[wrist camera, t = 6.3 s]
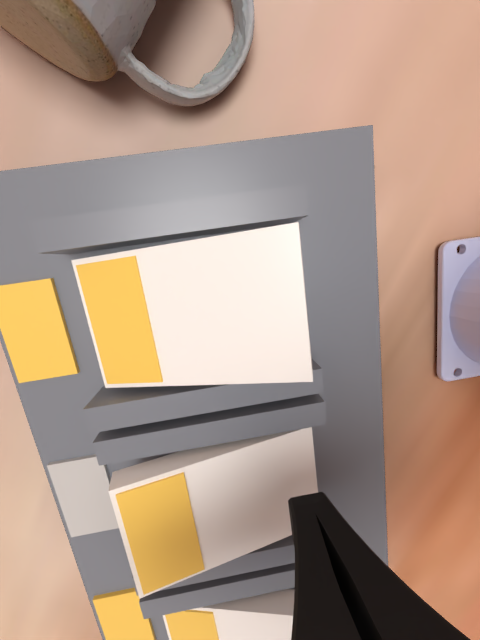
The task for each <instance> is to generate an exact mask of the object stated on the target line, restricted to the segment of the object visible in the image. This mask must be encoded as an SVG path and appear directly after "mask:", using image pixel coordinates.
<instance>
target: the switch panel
mask: <svg viewBox="0 0 480 640" xmlns="http://www.w3.org/2000/svg"><path fill="white" fill-rule="evenodd" d="M296 222H299V228H300V239H301V249H302V260H303V271H304V282H305V293H306V304H307V315H308V326H309V336H310V347H311V358H312V369H313V382H289V383H255V384H221V385H188V386H154V387H120V388H105V384H104V381H103V377H102V373H101V370H100V366H99V362H98V358H97V355H96V351H95V347H94V343H93V340H92V336H91V332H90V328H89V325H88V321H87V317H86V314H85V310H84V306H83V302H82V299H81V295H80V291H79V287H78V284H77V280H76V276H75V272H74V269H73V265H72V261H71V260H76V259H82V258H88V257H94V256H100V255H106V254H112V253H118V252H124V251H130V250H135V249H141V248H147V247H153V246H159V245H165V244H171V243H177V242H183V241H189V240H195V239H201V238H207V237H213V236H218V235H224V234H230V233H236V232H242V231H248V230H254V229H260V228H266V227H272V226H278V225H284V224H290V223H296ZM0 341H1V344H2V347H3V350H4V353H5V356H6V358H7V361H8V364H9V367H10V370H11V373H12V376H13V379H14V382H15V385H16V388H17V391H18V393H19V396H20V399H21V402H22V405H23V408H24V411H25V414H26V417H27V420H28V423H29V426H30V429H31V431H32V434H33V437H34V440H35V443H36V446H37V449H38V452H39V455H40V458H41V461H42V464H43V466H44V469H45V472H46V475H47V478H48V481H49V484H50V487H51V490H52V493H53V496H54V499H55V501H56V504H57V507H58V510H59V513H60V516H61V519H62V522H63V525H64V528H65V531H66V534H67V537H68V539H69V542H70V545H71V548H72V551H73V554H74V557H75V560H76V563H77V566H78V569H79V572H80V574H81V577H82V580H83V583H84V586H85V589H86V592H87V595H88V598H89V601H90V604H91V607H92V609H93V612H94V615H95V618H96V621H97V624H98V627H99V630H100V633H101V636H102V639H103V640H169V637H168V634H167V630H166V626H165V623H164V619H163V615H167V614H171V613H176V612H181V611H186V610H190V609H195V608H200V607H204V606H209V605H214V604H218V603H223V602H228V601H233V600H237V599H242V598H247V597H251V596H256V595H261V594H265V593H270V592H275V591H280V590H284V589H295V547H294V543H293V537H292V535H291V536H288V537H286V538H283V539H281V540H279V541H276V542H274V543H271V544H269V545H267V546H264V547H262V548H260V549H257V550H255V551H252V552H250V553H248V554H245V555H243V556H240V557H238V558H236V559H233V560H231V561H228V562H226V563H224V564H221V565H219V566H217V567H214V568H212V569H209V570H207V571H205V572H202V573H200V574H197V575H195V576H193V577H190V578H188V579H186V580H183V581H181V582H178V583H176V584H174V585H171V586H169V587H166V588H164V589H162V590H159V591H157V592H155V593H152V594H150V595H147V596H145V597H143V598H140V599H139V595H138V592H137V588H136V585H135V581H134V578H133V574H132V571H131V568H130V564H129V561H128V557H127V554H126V550H125V547H124V543H123V540H122V537H121V533H120V530H119V526H118V523H117V519H116V516H115V512H114V509H113V506H112V502H111V499H110V495H109V492H108V491H109V486H110V481H111V477H112V472H114V471H117V470H120V469H124V468H127V467H130V466H133V465H137V464H140V463H143V462H146V461H150V460H153V459H156V458H159V457H163V456H166V455H169V454H172V453H176V452H179V451H183V450H188V449H194V448H199V447H205V446H210V445H216V444H221V443H227V442H232V441H238V440H243V439H249V438H254V437H260V436H265V435H271V434H276V433H282V432H287V431H293V430H298V429H304V428H309V427H312V435H313V445H314V456H315V466H316V476H317V487H318V492H323V493H325V494H326V496H327V497H328V498H329V500H330V501H331V502H332V504H333V505H334V506H335V508H336V509H337V510H338V511H339V513H340V514H341V515H342V516H343V518H344V519H345V520H346V521H347V522H348V524H349V525H350V526H351V527H352V528H353V529H354V531H355V532H356V533H357V534H358V535H359V536H360V537H361V538H362V539H363V541H364V542H365V543H366V544H367V545H368V546H369V547H370V548H371V549H372V550H373V552H374V553H375V554H376V555H377V556H378V557H379V558H380V559H381V560H382V561H383V562H384V563H385V564H386V565H387V566H388V550H387V521H386V493H385V465H384V436H383V408H382V379H381V351H380V322H379V294H378V265H377V237H376V208H375V180H374V151H373V125H369V126H361V127H353V128H345V129H337V130H329V131H321V132H313V133H305V134H296V135H288V136H280V137H272V138H264V139H256V140H248V141H240V142H232V143H224V144H216V145H208V146H199V147H191V148H183V149H175V150H167V151H159V152H151V153H143V154H135V155H127V156H119V157H111V158H103V159H94V160H86V161H78V162H70V163H62V164H54V165H46V166H38V167H30V168H22V169H14V170H6V171H0Z"/></svg>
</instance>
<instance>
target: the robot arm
mask: <svg viewBox="0 0 480 640" xmlns="http://www.w3.org/2000/svg"><path fill="white" fill-rule="evenodd" d="M458 246H459V248H460V250H459V252H458V253H457V247H458ZM455 369H456V372H455V373H454V370H455ZM437 376H438V377H439V378H440V379H442V380H444V381H454V380H459V379H465V378H470V377H476V376H480V237H473V238H466V239H460V240H453V241H447V242H444V243H443V244H442V245H441V246H440V248H439V251H438V318H437ZM288 505H289V513H290V521H291V529H292V537H293V543H294V547H295V591H294V610H293V624H292V636H291V640H470V639H469V638H468V637H466V636H465V635H464V634H463V633H461V632H460V631H459V630H458V629H456V628H455V627H454V626H453V625H451V624H450V623H449V622H448V621H447V620H445V619H444V618H443V617H442V616H441V615H440V614H438V613H437V612H436V611H435V610H434V609H433V608H432V607H430V606H429V605H428V604H427V603H426V602H425V601H424V600H423V599H421V598H420V597H419V596H418V595H417V594H416V593H415V592H414V591H413V590H412V589H411V588H409V587H408V586H407V585H406V584H405V583H404V582H403V581H402V580H401V579H400V578H399V577H398V576H397V575H396V574H395V573H394V572H393V571H392V570H391V569H390V568H389V567H388V566H387V565H386V564H385V563H384V562H383V561H382V560H381V559H380V558H379V557H378V556H377V555H376V554H375V553H374V552H373V550H372V549H371V548H370V547H369V546H368V545H367V544H366V543H365V542H364V541H363V539H362V538H361V537H360V536H359V535H358V534H357V533H356V532H355V531H354V529H353V528H352V527H351V526H350V525H349V524H348V522H347V521H346V520H345V519H344V518H343V516H342V515H341V514H340V513H339V511H338V510H337V509H336V508H335V506H334V505H333V504H332V502H331V501H330V500H329V498H328V497H327V496H326V494H325V493H323V492H318V493H312V494H307V495H302V496H297V497H291V498H290V499H289V500H288Z"/></svg>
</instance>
